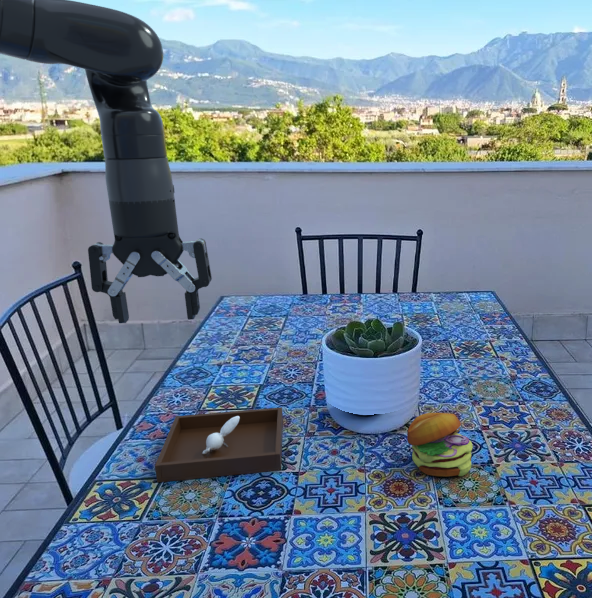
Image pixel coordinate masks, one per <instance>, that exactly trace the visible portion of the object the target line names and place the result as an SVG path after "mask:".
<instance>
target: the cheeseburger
mask: <svg viewBox="0 0 592 598" xmlns="http://www.w3.org/2000/svg"><path fill="white" fill-rule="evenodd" d="M461 426H462V423H461V421H460V419H459V418H458V417H457V415H456V414H454V413H448V412H427V413H422V414H420V415H418V416H416V417H415V418H414V419H413V421H412V422H411V423H410V425H409V427H408V429H407V431H406V432H407V433H406V440H407V444H409V445H411V449H412V453H411V458H412V461H413V463H414V465H416V466H417V468H418V470H419V471H420V472H422V473H423V474H425V475H428V476H433V477H446V478H447V477H454V476H458V477H463V476H466V475H467V474H469V472H470V471H471V469H472V452H473V451H472V450H473V448H474V447H473V446H474V444H473V443H472V441H471V440H470V439H469V437H467V436H466V435H463V434H461V433H459V432H460V431H461Z"/></svg>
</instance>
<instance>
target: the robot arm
mask: <svg viewBox="0 0 592 598" xmlns="http://www.w3.org/2000/svg"><path fill="white" fill-rule="evenodd" d="M0 55H4V56H7V57H12V58H16V59H18V60H19V59H20V60H24V61H28V62H31V63H32V62H33V63H37V64H44V65H67V66H71V67H75V68H78V69H83V70H84V72H85V75H86V76H85V77H86V79H87V83H88V86H89V89H90V93H91V97H92V100H93V103H94V106H95V109H96V112H97V115H98V119H99V126H100V136H101V143H102V150H103V157H104V166H105V173H104V175H105V185H106V191H107V192H106V193H107V199H108V205H109V206H108V207H109V211H110V217H111V224H112V225H111V226H112V232H113V236H114V242H113V244H105V243H103V242H101V241H98V242H95V243H94V244H91V245H90V246H89V247H88V248H87V253H88V254H87V256H88V263H89V273H90V274H89V275H90V282H91V283H90V284H91V290H92V292H94V293H103V294H106V295H108V297H109V301H110V305H111V311H112V317H113V318H114V320H117V321H118V324H126V323H127V322H129V320H130V314H129V307H128V302H127V295H126V291H123V290H124V288H125V287H126V285H127V284H128V282H129V281H130V280H131V278H132V277H133V276H136V277H137V278H145V277H149V276H153V277H164V276H166V275H167V274H168V275H169V276H170V278H172V279H173V280H174V281H176V282H178V284H179V285H180V286H182V287H183V288H184V290H185V292H184V300H185V308H186V317H187V318H186V319H187V320H188V321H189V320H195V318H196V316H198V314H199V312H200V309H201V305H200V295H199V290H200V289H203V288H207V287H208V286H209V285H210V283H211V281H212V279H213V277H212V271H211V265H210V259H209V253H208V249H207V242H206V240H205V239H204V238H197V239H196V240H191V241H190V240H189V241H183V240H182V239H181V237H180V233H179V225H178V224H179V223H178V215H177V209H176V207H177V206H176V201H175V200H176V199H175V193H176V192H175V185H174V184H173V182H174V181H173V176H172V171H171V167H170V163H169V159H168V153H167V152H168V151H167V143H166V136H165V133H166V132H165V127H164V122H163V119H162V116H161V114H160V113H159V112H158V111H157V110H156V109H155V108H154V107H153V105H152V101H151V96H150V92H149V87H148V81H147V80H150V79H152V78H153V77H154V76H155V75H156V74H157V73H159V71H160V69H161V67H162V65H163V62H164V48H163V44H162V41H161V39H160V37H159V36H158V34H157V32H156V31H155V30H154V29H153V28H152V27H151V26H150V25H149V24H148V23H146V22H145V21H143V20H142V19H140V18H138V17H137V16H135V15H132V14H130V13H127V12H124V11H120V10H117V9H114V8H110V7H105V6H101V5H96V4H91V3H85V2H81V1H76V0H0ZM184 251H186V252H187V253H188V255H189V257H190V258H192V259H195V260H194V261H195V265H196V271H197V276H198V277H196V278H195V277H194V276H193V274H192V273H191V272H190V271H189V270H188V268H187V267H186V266H185V265H184V264H183V263H182V262H181V260H179V259H180V257H182V254H183V252H184ZM112 254H113V256H114V257H115V258H116V259H117V260H118V261H119V262H120V263H121V264H122V267H121V268H120V270H119V271H118V273H117V274H116V276H115V278H114V280H113V281H110V280H109V278H108V269H107V268H108V267H107V262H108V261H109V260H110V259H111V255H112Z"/></svg>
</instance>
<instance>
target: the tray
mask: <svg viewBox="0 0 592 598" xmlns="http://www.w3.org/2000/svg"><path fill="white" fill-rule="evenodd" d="M235 416H239V417H240V419H239V422H238V424H237V426H236V427H235V428H234V430H233V431H232V432H230V433H229V434H227V435H226V436H224V437H223V438H224V441H223V444H222V446H221V447H220V448H219V449H217V450H209V452H207V453H206V454H202V453H203V451H204V450H206V447H207V446H206V440H207V437H208V436H209V435H210V434H213V433H220V431H221V428H222V427H223V425H224V424H225V423H226V422H227V421H228V420H230V419H231V418H233V417H235ZM283 435H284V412H283V407H281V406H280V407H268V408H257V409H247V410H234V411H233V410H232V411H223V412H208V413H197V414H187V415H176V416H174V419H173V422H172V424H171V425H170V429H169V431H168V434H167V436H166V438H165V441H164V444H163V445H162V447H161V450H160V452H159V455H158V456H157V459H156V462H155V465H154V469H155V470H154V471H155V476H156V477H155V478H156V483H157V484H158V483H168V482H178V481H187V480H188V481H189V480H196V479H207V478H216V477H217V478H218V477H227V476H236V475H237V476H239V475H247V474H257V473H258V474H259V473H267V472H268V473H269V472H276V471H277V472H278V471H282V462H283V461H282V459H283ZM224 443H225V444H227V445H228V447H227V446H226V445H224Z"/></svg>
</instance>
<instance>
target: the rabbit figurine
mask: <svg viewBox="0 0 592 598" xmlns="http://www.w3.org/2000/svg"><path fill="white" fill-rule="evenodd" d="M239 419H240V417H239V416H235V417H233V418H231V419H230V420H228V421H227V422H226V423H225V424H224V425H223V427H222V428H221V431H220V433H213V434H210V435H209V436H208V437H207V440H206V446H207V447H206V450H204V451H203V453H202V454H206V453H207V452H209V450H217V449H219V448H220V447H221V446H222V444H223V441H224V438H223V437H224V436H226V435H227V434H229V433H230V432H232V431H233V430H234V428H235V427H236V426H237V424H238V422H239ZM224 445H226V446H227V447H228V445H227V444H225V443H224Z"/></svg>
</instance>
